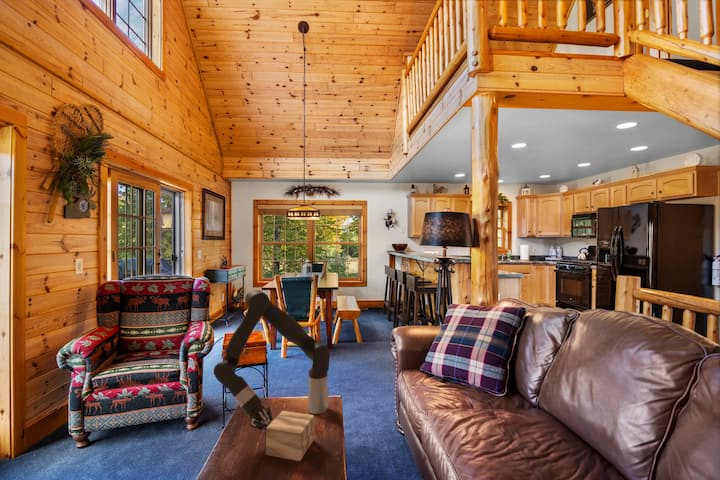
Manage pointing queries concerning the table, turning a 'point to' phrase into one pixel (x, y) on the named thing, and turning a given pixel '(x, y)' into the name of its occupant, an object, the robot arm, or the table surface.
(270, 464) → the table surface
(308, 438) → the socket block
